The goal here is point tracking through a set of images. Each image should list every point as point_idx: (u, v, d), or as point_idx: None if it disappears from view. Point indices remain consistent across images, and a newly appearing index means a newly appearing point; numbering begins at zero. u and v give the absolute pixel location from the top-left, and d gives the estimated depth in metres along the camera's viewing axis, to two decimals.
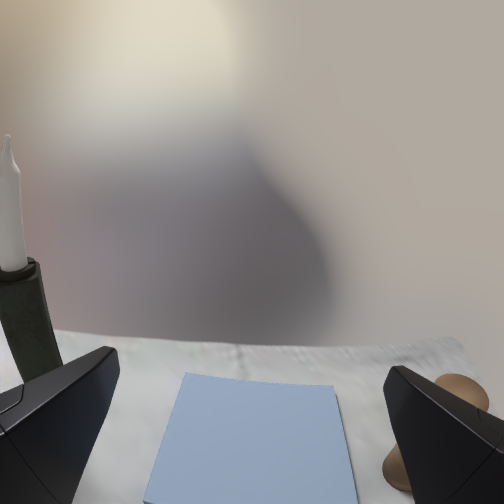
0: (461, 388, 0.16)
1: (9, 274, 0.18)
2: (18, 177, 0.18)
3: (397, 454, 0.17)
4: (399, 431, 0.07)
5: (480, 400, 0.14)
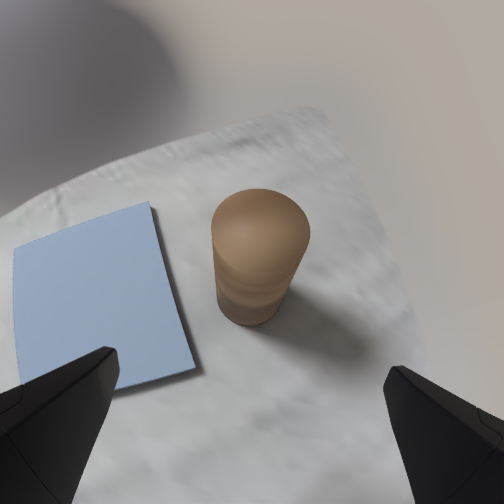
0: (262, 213, 0.16)
1: None
2: None
3: (216, 289, 0.21)
4: (399, 431, 0.07)
5: (293, 234, 0.15)
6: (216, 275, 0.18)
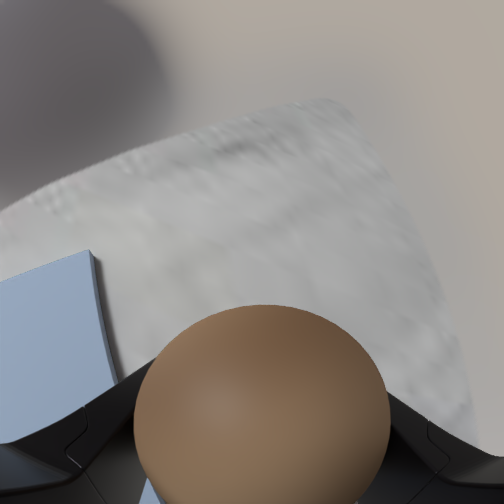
0: (272, 389, 0.05)
1: None
2: None
3: None
4: None
5: (351, 442, 0.05)
6: None
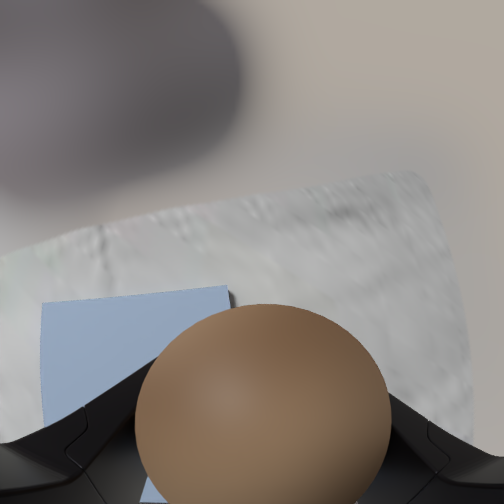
0: (273, 388, 0.05)
1: None
2: None
3: None
4: None
5: (352, 441, 0.05)
6: None
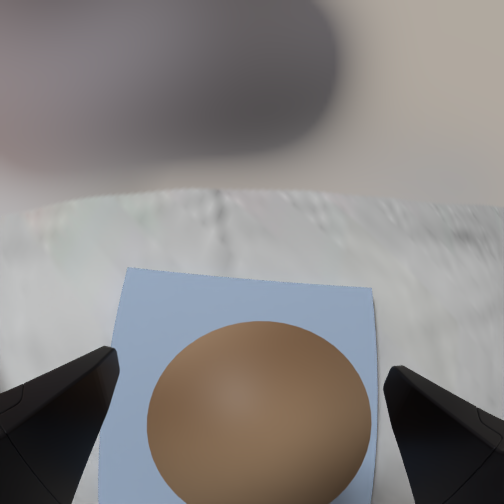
0: (266, 394, 0.06)
1: None
2: None
3: None
4: (399, 431, 0.07)
5: (335, 441, 0.06)
6: None
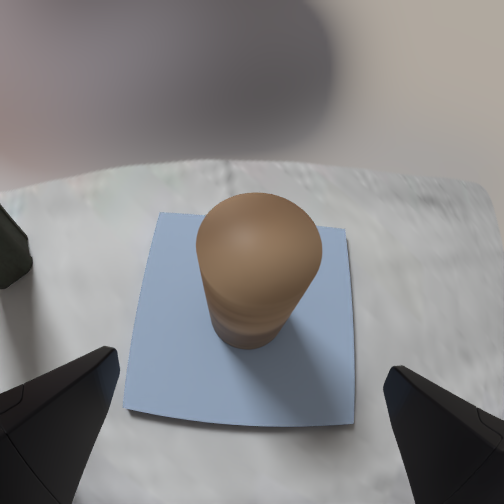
0: (261, 225, 0.13)
1: None
2: None
3: None
4: (399, 431, 0.07)
5: (301, 252, 0.12)
6: (206, 298, 0.15)
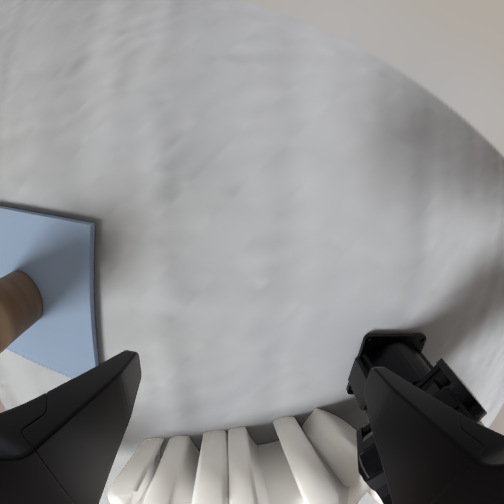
0: None
1: None
2: None
3: None
4: (378, 434, 0.07)
5: None
6: None
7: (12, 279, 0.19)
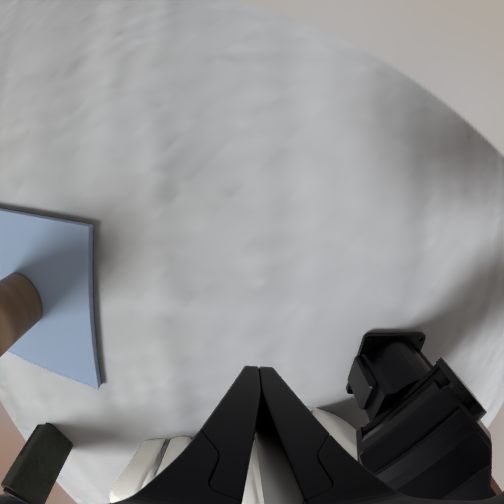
0: None
1: None
2: None
3: None
4: (258, 441, 0.07)
5: None
6: None
7: (11, 282, 0.19)
